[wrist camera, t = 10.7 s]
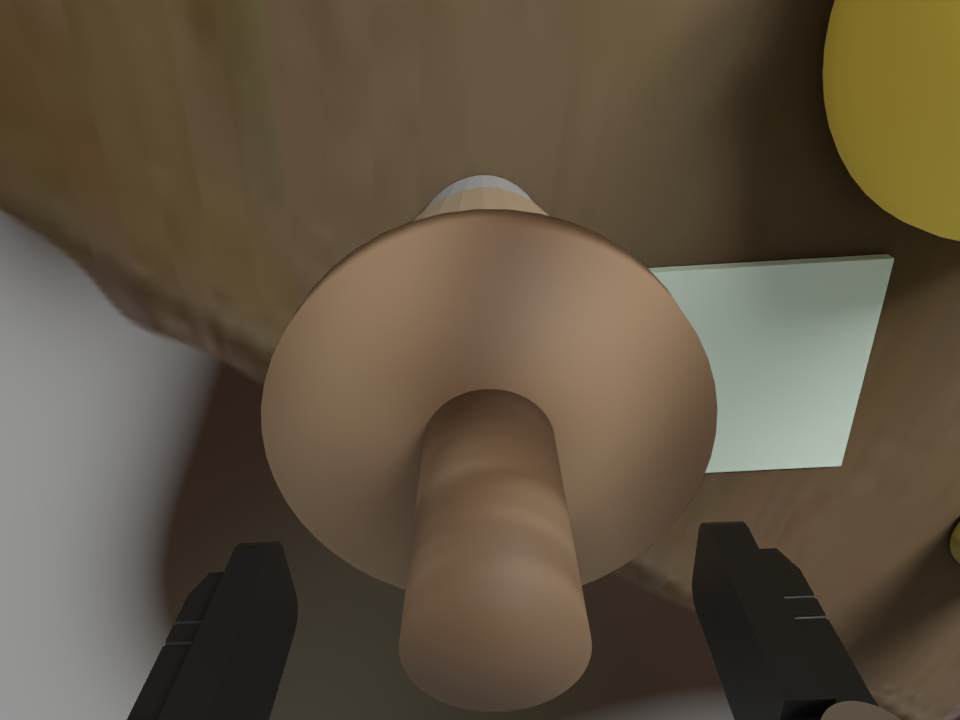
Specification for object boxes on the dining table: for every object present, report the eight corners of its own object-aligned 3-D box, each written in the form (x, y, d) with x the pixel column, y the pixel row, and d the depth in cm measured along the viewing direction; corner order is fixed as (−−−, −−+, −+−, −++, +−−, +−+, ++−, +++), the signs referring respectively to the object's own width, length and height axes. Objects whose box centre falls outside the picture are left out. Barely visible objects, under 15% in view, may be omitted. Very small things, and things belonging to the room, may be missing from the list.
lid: (727, 194, 14) (918, 338, 8) (681, 561, 19) (776, 819, 13) (228, 223, 14) (44, 385, 8) (316, 578, 20) (243, 838, 14)
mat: (887, 254, 31) (894, 258, 30) (835, 459, 36) (841, 466, 36) (631, 269, 31) (633, 273, 30) (620, 470, 37) (622, 477, 36)
